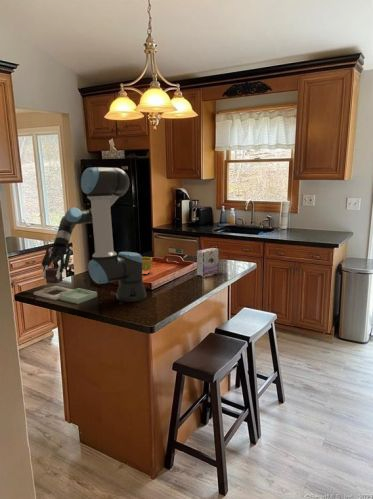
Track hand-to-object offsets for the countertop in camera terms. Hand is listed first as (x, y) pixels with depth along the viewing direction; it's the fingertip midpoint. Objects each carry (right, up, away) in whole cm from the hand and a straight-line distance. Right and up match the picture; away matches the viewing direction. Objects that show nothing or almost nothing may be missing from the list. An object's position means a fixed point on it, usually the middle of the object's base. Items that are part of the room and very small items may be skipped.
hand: (50, 277), depth 192 cm
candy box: (+82, -2, +41) cm, 92 cm away
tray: (+15, -10, -2) cm, 18 cm away
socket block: (0, -9, +5) cm, 10 cm away
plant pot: (+43, -1, +45) cm, 62 cm away
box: (0, -3, +4) cm, 5 cm away
